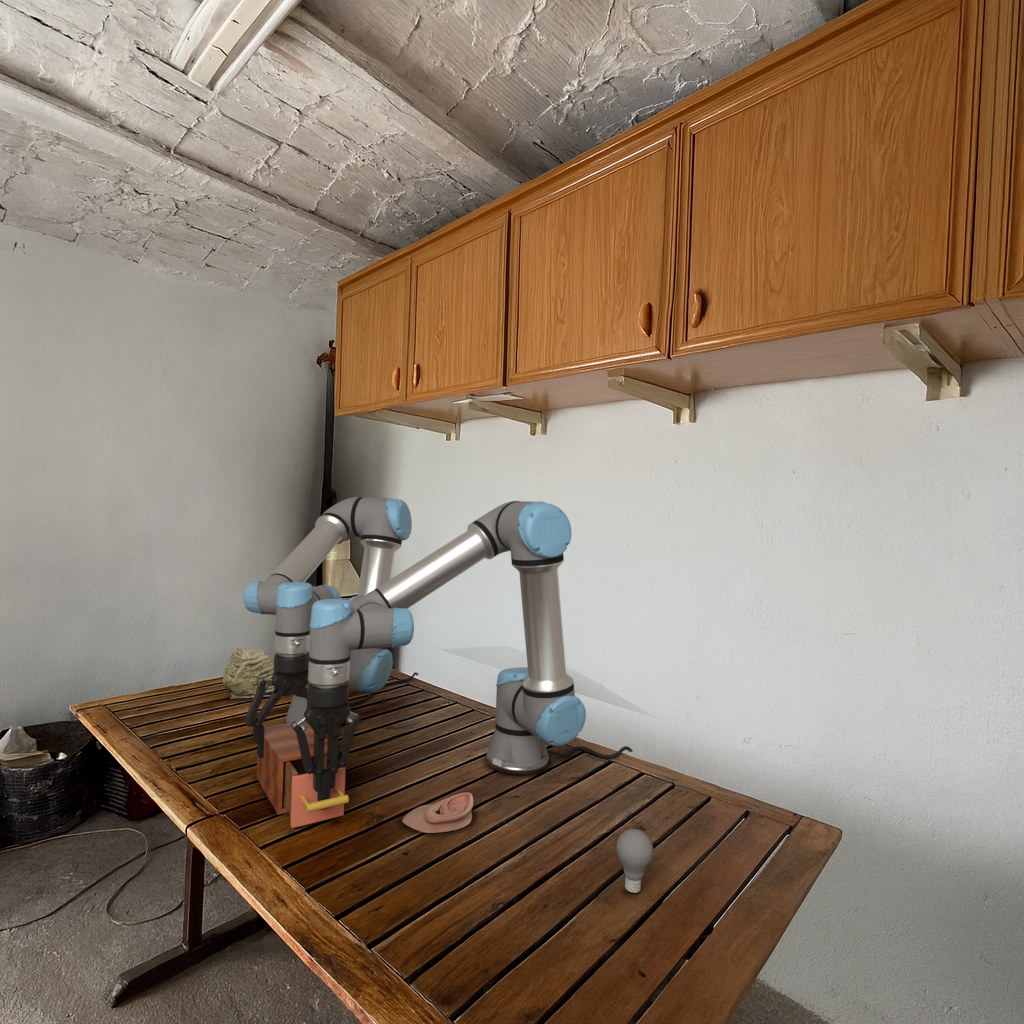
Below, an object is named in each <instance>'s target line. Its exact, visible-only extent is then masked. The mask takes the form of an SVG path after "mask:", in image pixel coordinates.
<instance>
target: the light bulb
mask: <svg viewBox="0 0 1024 1024" xmlns="http://www.w3.org/2000/svg"><path fill="white" fill-rule="evenodd" d="M615 849H616V854H617V857H618V859H619V861H620V863H621V865H622V867H623V873H624V874H623V875H624V876H625V878H624V888H625V890H627V891H628V892H630V893H634V894H635V893H639V892H640V891H641V889H642V887H641V886H642V879H643V877H644V875H645V871H646V868H647V867H648V866H649V864H650V863H651V861H652V859H653V855H654V847H653V843H652V841H651V838H649V836H648V835H647V834H646V833H645V832H643V831H642V830H641V829H636V828H629V829H627V830H625V831H623V832H622V833H621V834H620V835H619V837H618V839H617V841H616V847H615Z"/></svg>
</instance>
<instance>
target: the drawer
mask: <svg viewBox="0 0 1024 1024" xmlns="http://www.w3.org/2000/svg"><path fill="white" fill-rule="evenodd" d="M311 760H312V764H313V757H311ZM323 769H327V754H324V762H323ZM345 791H346V766H345V767H343V768H342V767H341V768H339V769H338V772H337V774H336V778H335V787H334V788H332V789H330V799H326V800H322V801H318V802H317V797H318V792H316V791H315V790H314V788H313V774H308V773H307V772H306V770H305V769H304V767H303V763H302V759H297V760H292V761H286V762H284V766H283V793H282V803H283V805H284V807H285V808H286V810H287V813H288V815H289V817H290V820H289V821H290V823H289V825H290V827H291V829H294V828H298V827H302V826H307V825H310V824H315V823H319V822H323V821H327V820H330V819H334V818H338V817H342V816H345V805H346V804H348V803H349V801H350V797H349V795H348V794H346V793H345ZM325 808H329V809H325ZM321 809H324V810H321Z"/></svg>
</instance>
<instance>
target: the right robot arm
mask: <svg viewBox="0 0 1024 1024" xmlns="http://www.w3.org/2000/svg"><path fill="white" fill-rule="evenodd" d="M571 540H572V525H571V522H570V519H569V517H568V515H567V513H565V512H564V511H563V510H562V509H561V508H560V507H559V506H556V504H554V503H553V504H552V503H548V502H544V501H522V500H512V501H508V502H504V503H502V504H501V505H498V506H496V507H495V508H493V509H491V510H490V511H488V512H486V513H485V514H484V515H482V516H480V517H478V518H477V519H476V520H474V521H472V522H471V523H469V524H468V525H467V528H466V531H464V532H463V533H461V534H460V535H458V536H457V537H455V538H453V539H452V540H450V541H449V542H447V543H445V544H444V545H442V546H441V547H439V548H438V549H436V550H435V551H433V552H431V553H429V554H428V555H426V556H425V557H423V558H422V559H421V560H419V561H417V562H416V563H414V564H412V565H411V566H409V567H408V568H406V569H404V570H403V571H401V572H399V573H398V574H397V575H395V576H394V577H391V579H390V580H389V581H387V582H386V583H384V584H382V585H381V586H379V587H378V588H376V589H374V590H373V591H371V592H369V593H368V594H366V595H364V596H357V595H354V596H352V597H351V598H349V599H344V598H341V599H323V600H319V601H317V602H315V603H314V604H313V606H312V611H311V620H310V625H309V627H310V646H309V667H308V681H309V682H310V683H309V685H308V688H307V708H306V710H305V712H304V717H303V718H301V719H300V720H299V721H298V722H295V721H294V722H292V723H291V727H292V728H293V730H294V731H295V732H296V735H297V739H298V744H299V749H300V753H301V758H302V763H303V767H304V769H305V770H306V772H307V773H308V774H313V788H314V790H315V791H316V792H318V797H317V802H318V801H322V800H326V799H330V789H332V788H334V787H335V778H336V774H337V772H338V769H339V768H341V767H342V768H343V767H345V768H346V766H347V764H348V763H347V762H348V760H349V755H350V752H351V747H352V745H353V741H354V737H355V733H356V729H357V727H358V726H359V724H360V723H361V721H362V717H361V716H360V715H359V714H358V713H357V712H352V711H351V707H350V706H348V704H349V692H350V690H349V684H348V682H347V681H348V680H349V670H350V653H351V650H358V649H372V648H387V649H389V648H392V649H395V648H398V647H405V646H408V645H409V644H410V643H411V642H412V640H413V638H414V633H415V622H414V617H413V613H412V612H411V610H410V608H411V607H412V606H414V605H416V604H417V603H418V602H419V601H422V600H423V599H425V598H426V597H427V596H429V595H431V594H432V593H435V591H437V590H438V589H440V588H442V587H443V586H444V585H446V584H447V583H450V581H452V580H453V579H455V578H457V577H458V576H460V575H461V574H463V573H464V572H466V571H467V570H469V569H470V568H472V567H473V566H475V565H477V564H478V563H479V562H481V561H483V560H484V559H486V560H492V559H494V558H495V557H496V556H497V557H498V555H500V554H503V553H506V552H510V559H511V560H510V561H511V566H512V567H513V568H514V569H515V570H517V572H518V573H519V574H518V575H519V584H520V585H519V586H520V593H521V594H520V597H521V608H522V618H523V619H522V620H523V630H524V631H523V632H524V641H525V654H526V664H527V667H525V666H524V667H523V666H521V667H508V668H505V669H502V670H500V671H499V672H498V674H497V679H496V686H495V687H496V694H495V695H496V697H495V723H494V725H495V726H494V732H493V735H492V738H491V740H490V743H489V744H488V745H489V746H488V748H487V751H486V761H485V762H486V764H487V766H489V768H490V769H492V770H494V771H496V772H499V773H502V774H506V775H511V776H512V775H513V776H529V775H535V774H539V773H541V772H544V770H546V769H547V768H548V766H549V759H550V757H549V756H550V755H552V756H553V755H554V756H558V757H561V758H568V757H570V756H571V755H572V754H573V753H574V752H575V751H585V752H587V753H590V754H592V755H593V756H596V757H598V758H602V759H615V758H616V757H619V756H620V755H621V754H622V753H623V752H624V751H628V752H629V753H633V749H632V748H631V747H629V746H627V745H624V746H622V747H621V748H619V750H617V752H614V753H612V754H603V753H600V752H598V751H596V750H593V749H591V748H590V747H587V746H580V745H576V746H575V745H574V746H572V747H571V748H570V749H569V750H568V752H566V753H562V752H559V751H556V750H550V749H548V748H547V745H546V744H548V745H550V746H552V747H563V746H565V745H568V744H570V743H571V742H573V741H574V740H575V739H576V738H577V737H578V735H579V733H580V732H582V730H583V728H584V726H585V722H586V719H587V713H586V712H587V711H586V707H585V704H584V703H583V701H581V699H580V698H579V697H577V696H576V694H575V693H576V692H575V681H574V677H572V676H571V675H570V674H569V673H567V666H566V665H567V664H566V655H565V654H566V653H565V641H564V630H563V618H562V617H563V616H562V605H561V604H562V603H561V592H560V581H559V580H560V579H559V568H560V566H561V565H562V564H563V563H564V561H565V557H564V552H566V551H567V549H568V545H570V543H571ZM307 722H308V724H309V725H310V726H311V727H312V729H313V730H314V755H313V764H312V760H311V755H310V751H309V746H308V741H307V737H306V734H305V732H304V731H306V729H307V727H306V724H307ZM344 722H346V723H345V726H344V729H343V733H342V736H341V740H340V744H339V737H340V728H341V727H342V725H343V724H344ZM326 734H327V735H326ZM326 736H327V740H328V744H327V769H323V762H324V741H325V738H326ZM325 809H329V808H325ZM321 810H324V809H321Z"/></svg>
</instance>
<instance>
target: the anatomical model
mask: <svg viewBox="0 0 1024 1024" xmlns="http://www.w3.org/2000/svg"><path fill="white" fill-rule="evenodd" d="M473 807H474V796H473V794H472V793H471V792H467V791H466V792H461V793H456V794H453V795H450V796H448V797H445V798H443V799H441V800H439V801H436V802H434V803H431V804H430V803H429V804H423V805H421V806H418V807H416V808H414V809H412V810H411V811H409V812H408V813H407V814H405V816H403V817H402V820H401V821H402V823H403V824H404V825H405V826H406V827H409V828H410V829H412V830H415V831H418V832H421V833H424V834H435V833H437V834H438V833H446V832H452V831H456V830H459V829H463V828H464V827H466V826H468V825H470V824H471V822H472V820H473V813H472V809H474V808H473Z"/></svg>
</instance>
